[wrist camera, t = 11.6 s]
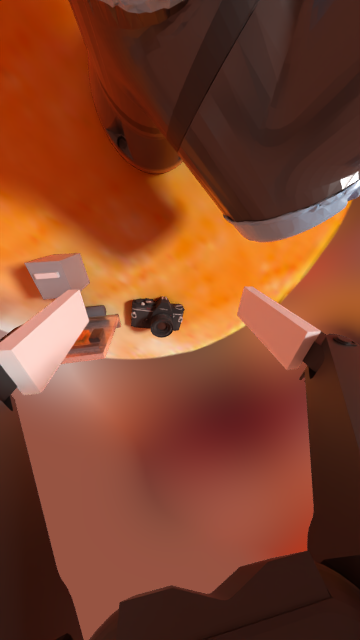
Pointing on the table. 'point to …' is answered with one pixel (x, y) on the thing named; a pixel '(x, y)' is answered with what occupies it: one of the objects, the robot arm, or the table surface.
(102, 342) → the breaker panel
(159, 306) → the film camera
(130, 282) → the table surface
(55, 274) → the grey tall block
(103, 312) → the gray cylinder
